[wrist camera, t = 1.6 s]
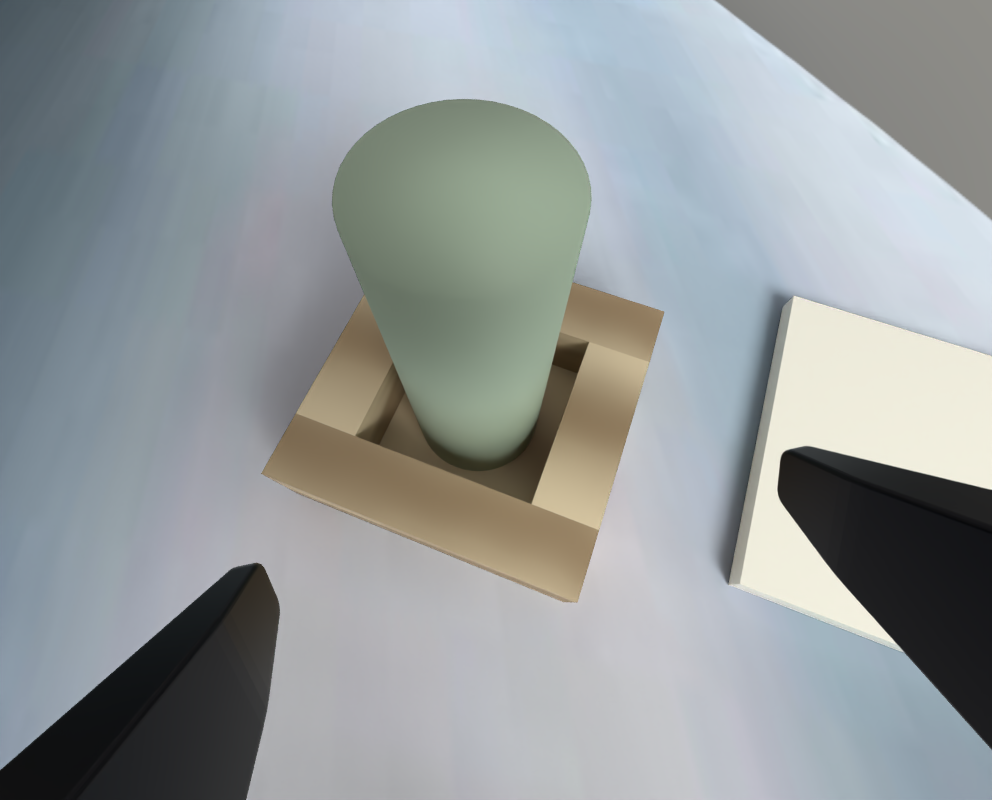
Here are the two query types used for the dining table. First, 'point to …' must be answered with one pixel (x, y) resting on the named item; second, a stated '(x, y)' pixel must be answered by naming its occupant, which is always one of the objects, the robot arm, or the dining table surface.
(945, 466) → the tile
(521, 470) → the pocket block
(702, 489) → the dining table surface
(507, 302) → the pin
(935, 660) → the robot arm
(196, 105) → the dining table surface
